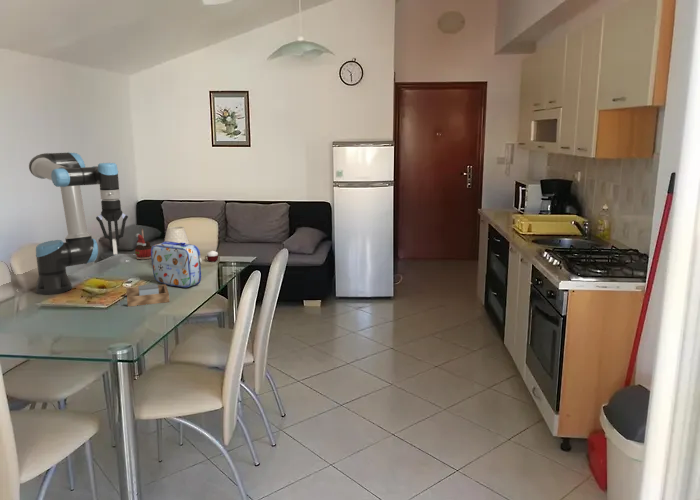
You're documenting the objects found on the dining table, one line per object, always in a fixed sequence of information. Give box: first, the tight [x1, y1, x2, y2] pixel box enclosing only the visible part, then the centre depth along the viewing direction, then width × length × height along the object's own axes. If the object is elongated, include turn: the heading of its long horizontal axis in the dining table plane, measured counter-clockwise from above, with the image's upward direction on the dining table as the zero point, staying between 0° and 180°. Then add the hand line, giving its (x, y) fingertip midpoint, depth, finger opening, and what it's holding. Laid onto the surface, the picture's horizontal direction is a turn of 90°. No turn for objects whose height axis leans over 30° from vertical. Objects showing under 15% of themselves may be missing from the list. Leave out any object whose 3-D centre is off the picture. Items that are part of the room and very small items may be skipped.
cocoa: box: [204, 239, 221, 263], centre depth 327 cm, size 10×6×12 cm, turn 93°
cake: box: [134, 228, 152, 260], centre depth 335 cm, size 11×9×18 cm
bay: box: [125, 284, 170, 307], centre depth 252 cm, size 17×16×4 cm
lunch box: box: [150, 241, 203, 288], centre depth 275 cm, size 28×10×22 cm, turn 62°
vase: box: [163, 226, 191, 245], centre depth 307 cm, size 18×17×23 cm
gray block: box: [137, 283, 159, 296], centre depth 252 cm, size 8×6×6 cm
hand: (115, 253), depth 244 cm, fingers closed
